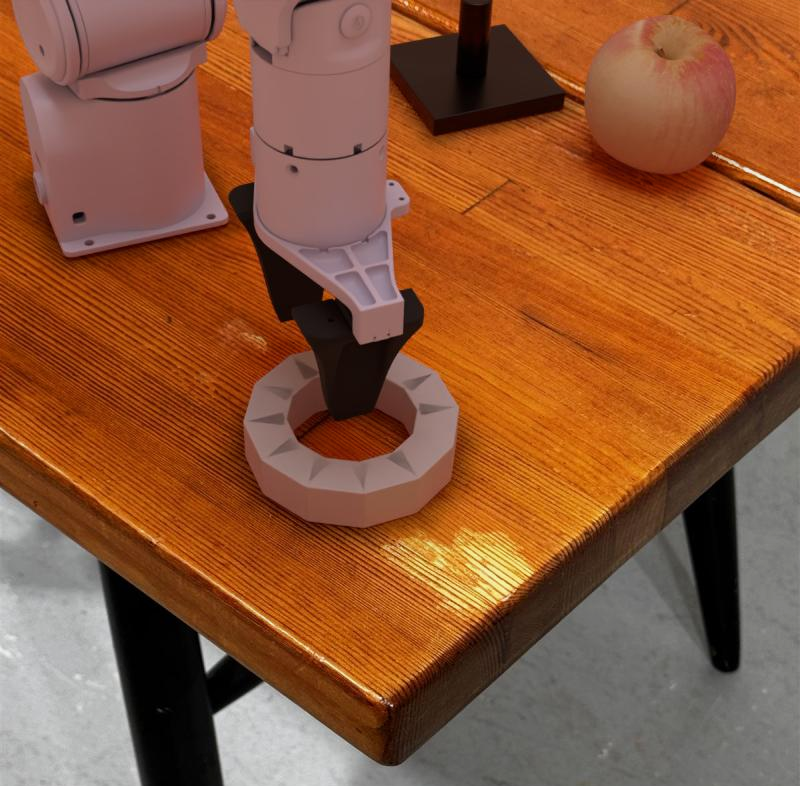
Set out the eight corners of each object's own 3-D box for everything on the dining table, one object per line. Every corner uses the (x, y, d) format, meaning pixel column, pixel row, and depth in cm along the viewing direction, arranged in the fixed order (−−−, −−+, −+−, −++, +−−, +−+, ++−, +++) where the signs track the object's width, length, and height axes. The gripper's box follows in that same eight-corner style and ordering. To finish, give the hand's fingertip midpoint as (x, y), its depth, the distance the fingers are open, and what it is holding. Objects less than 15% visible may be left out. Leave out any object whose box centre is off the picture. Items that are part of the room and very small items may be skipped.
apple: (655, 102, 93) (676, -15, 87) (751, 171, 88) (780, 52, 82) (547, 142, 90) (562, 23, 84) (640, 216, 85) (662, 95, 79)
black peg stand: (433, 136, 90) (438, 45, 85) (379, 62, 95) (381, -26, 91) (563, 109, 92) (575, 19, 88) (503, 39, 98) (511, -49, 93)
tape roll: (288, 550, 66) (287, 515, 65) (221, 407, 73) (219, 372, 71) (487, 493, 69) (491, 458, 67) (406, 360, 75) (408, 325, 74)
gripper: (477, 198, 58) (457, 438, 68) (347, 24, 67) (346, 258, 77) (312, 235, 56) (316, 477, 66) (201, 50, 65) (219, 287, 75)
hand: (323, 361), depth 72 cm, fingers open, 7 cm apart
